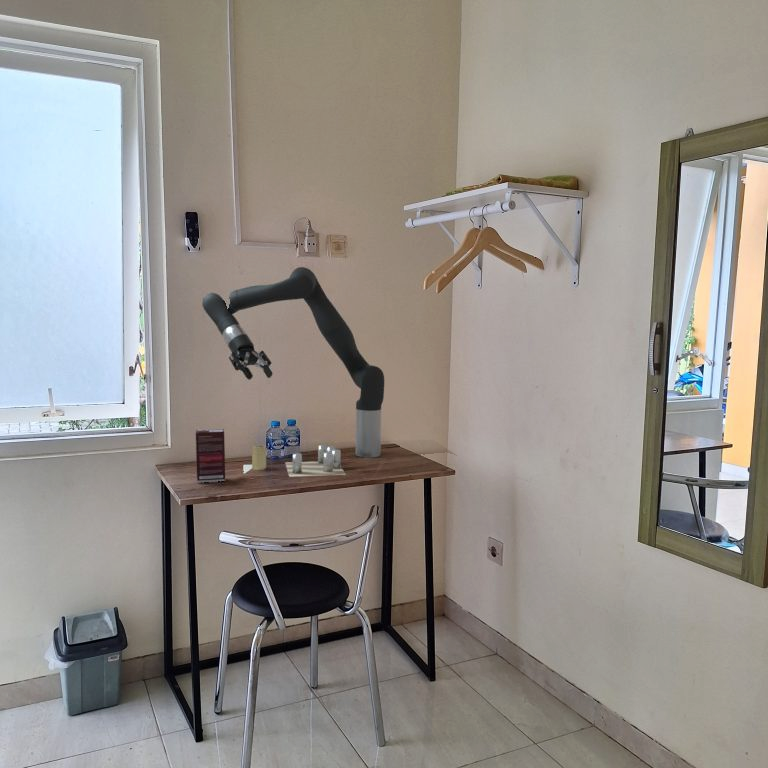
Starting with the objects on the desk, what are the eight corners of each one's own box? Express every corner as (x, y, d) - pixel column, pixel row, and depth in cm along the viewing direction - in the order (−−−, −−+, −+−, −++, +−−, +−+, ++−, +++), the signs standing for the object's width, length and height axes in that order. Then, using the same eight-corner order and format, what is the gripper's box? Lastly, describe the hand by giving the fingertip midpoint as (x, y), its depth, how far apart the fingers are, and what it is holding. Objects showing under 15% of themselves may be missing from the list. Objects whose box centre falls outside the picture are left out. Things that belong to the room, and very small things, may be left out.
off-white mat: (243, 465, 236) (243, 464, 236) (273, 465, 238) (273, 463, 238) (243, 478, 219) (243, 477, 219) (275, 477, 221) (275, 476, 221)
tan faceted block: (255, 468, 231) (255, 444, 230) (267, 469, 231) (267, 445, 230) (251, 471, 227) (250, 447, 226) (262, 472, 226) (262, 447, 225)
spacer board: (285, 465, 238) (285, 462, 238) (337, 463, 242) (337, 460, 242) (289, 479, 219) (289, 476, 219) (346, 477, 222) (346, 474, 222)
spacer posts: (289, 462, 238) (289, 445, 237) (336, 461, 241) (336, 444, 241) (292, 473, 222) (292, 455, 222) (343, 472, 226) (343, 454, 225)
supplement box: (224, 478, 219) (224, 428, 217) (225, 482, 215) (224, 431, 213) (196, 479, 217) (195, 429, 215) (196, 483, 212) (195, 432, 211)
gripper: (226, 333, 229) (249, 371, 223) (259, 332, 240) (282, 368, 234) (216, 349, 232) (238, 386, 227) (248, 347, 243) (271, 382, 238)
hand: (260, 377), depth 230 cm, fingers open, 8 cm apart
